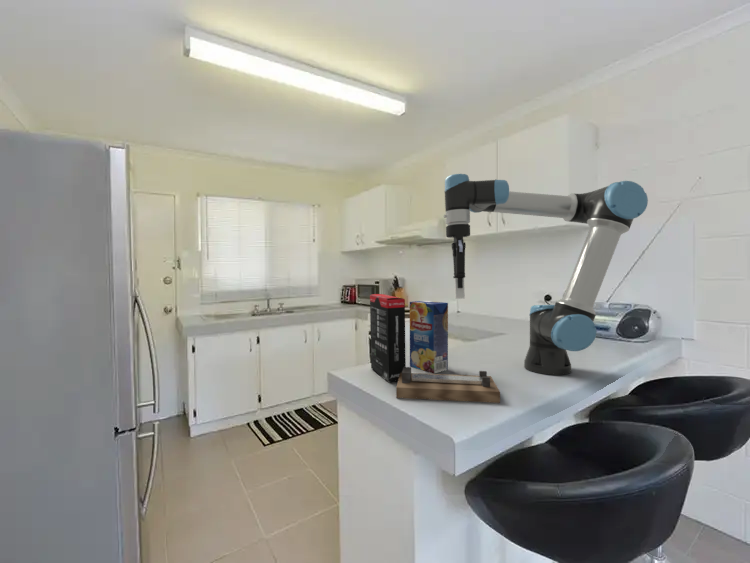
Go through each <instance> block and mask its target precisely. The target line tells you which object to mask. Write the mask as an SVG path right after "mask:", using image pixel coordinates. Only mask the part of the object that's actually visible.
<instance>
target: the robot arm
mask: <svg viewBox="0 0 750 563" xmlns="http://www.w3.org/2000/svg"><path fill="white" fill-rule="evenodd" d="M469 178H470V177H469V175H468V174H466V173H454V174H450V175H448V176H446V178H445V179H444V204H445V205H444V207H445V214H444V215H443V218H445V224H446V226H445V236H446V238H449V239H453V242H452V243H451V250H452V260H453V275H454V276H453V279H454V289H455V290H454V293H455V294H454V295H455V299H457V300H459V299H460V300H461V299H465V298H466V297H465V278H466V266H465V265H466V248H467V247H466V242H465V241H464V238H468V237H470V236H471V225H470V224H469V223H470V222H471V212H472V213H481V212H487V213H498V214H499V213H500V214H510V215H511V214H513V215H522V216H523V215H525V216H533V217H534V216H535V217H547V218H559V219H563V221H565V222H571V223H579V224H587V225H588V227H589V229H588V233H587V235H586V237H585V240H584V243H583V246H582V247H581V250H580V252H579V255H578V258H577V261H576V263H575V266H574V269H573V271H572V274H571V277H570V279H569V282H568V284H567V287H566V290H565V293H564V295H563V297H562V298H560V299H558V300H556V302H555V304H536V305H535V304H534V305H532V306H531V307H530V310H529V346H528V350H527V352H526V356H525V358H524V361H523V362H524V364H523V365H524V366H523V367H524V368H525V369H526V370H528V371H530V372H533V373H538V374H542V375H549V376H551V375H553V376H562V375H568V374H571V373H572V362H571V360H570V358H569V354H568V351H569V352H579V351H584V350H585V349H587V348H589V347H590V346H591V345H593V343H594V341H595V340H596V338H597V327H596V325H595V322H594V321H595V318H596V315H597V313H596V312H595V310H594V304H595V302H596V300H597V298H598V295H599V292H600V290H601V287H602V284H603V281H604V279H605V276H606V274H607V271H608V270H609V266H610V264H611V262H612V258H613V255H614V254H615V251H616V249H617V246H618V244H619V241H620V238H621V236H622V235H624V234H625V233H627V232H629V231H630V228H631V226H632V224H633V221H634V219H636V218H638V217H640V216H642V214H644V212H645V211H646V209H647V208H648V202H649V199H648V195H647V192H645V190H644V188H643V186H641V185H640V184H639V183H637V182H635V181H632V180H620V181H616V182H613V183H611V184H609V185H607V186H605V187H601V188H599V189H596V190H592V191H588V192H585V193H572V192H571V193H569V194H568V195H557V194H548V193H547V194H546V193H545V194H544V193H534V192H520V191H510V186H509V183H508V181H507V180H505V179H497V178H496V179H489V180H487V179H486V180H470V179H469Z"/></svg>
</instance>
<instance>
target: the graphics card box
mask: <svg viewBox="0 0 750 563" xmlns="http://www.w3.org/2000/svg"><path fill="white" fill-rule="evenodd" d="M369 317H370V318H369V319H370V321H369V322H370V363H371V364H370V367H371V369H372V370H373V371H374V372H375V373H377V374H378V375H379V376H380V377H382V378H383V379H384V380H385V381H386V382H388V383H394V382H398V379H399V375H400V373H402V371H403V367H407V365H406V362H407V361H406V300H405V298H402V297H398V296H394V295H393V296H392V295H388V294H386V293H385V294H382V293H374V294H373V293H372V294H369Z"/></svg>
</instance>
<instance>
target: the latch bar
mask: <svg viewBox="0 0 750 563" xmlns="http://www.w3.org/2000/svg"><path fill="white" fill-rule="evenodd" d="M432 374H433V373H422V374H412V381H421V382H441V383H460V384H480V385H482V377H473V376H452V375H453V374H449V375H432Z"/></svg>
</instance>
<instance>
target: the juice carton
mask: <svg viewBox="0 0 750 563" xmlns="http://www.w3.org/2000/svg"><path fill="white" fill-rule="evenodd" d="M448 335H449V302H442V301H433V300H416V301H409V367H411V368H413V369H417V370H420V371H424V372H426V373H429V374H439V373H441V371H442V372H445V371H447V370H449V366H448V365H449V336H448ZM444 370H445V371H444Z"/></svg>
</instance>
